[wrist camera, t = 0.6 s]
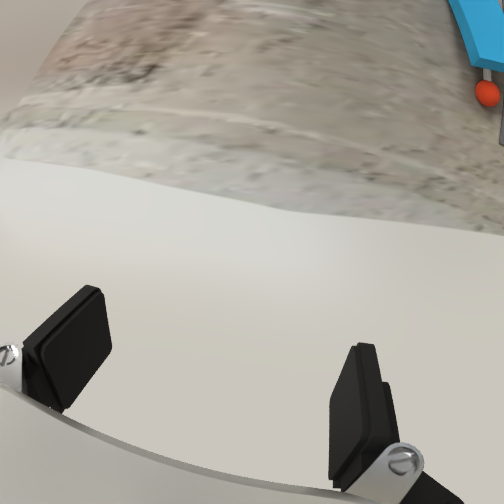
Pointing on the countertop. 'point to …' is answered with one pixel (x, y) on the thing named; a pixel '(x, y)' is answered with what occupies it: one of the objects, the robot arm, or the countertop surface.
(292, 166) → the countertop surface
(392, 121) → the countertop surface
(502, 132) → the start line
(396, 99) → the countertop surface
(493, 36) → the lever
